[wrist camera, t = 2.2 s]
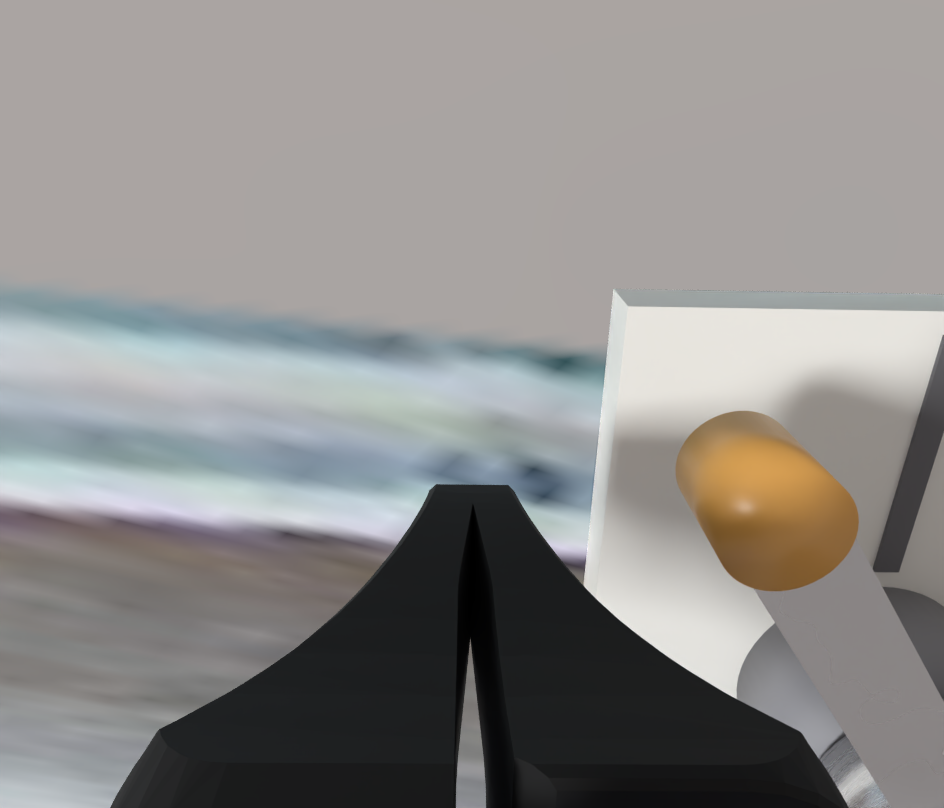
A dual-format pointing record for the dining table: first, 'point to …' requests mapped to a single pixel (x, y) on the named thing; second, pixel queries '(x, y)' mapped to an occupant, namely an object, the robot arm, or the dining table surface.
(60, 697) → the dining table surface
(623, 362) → the board
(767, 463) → the lever with orange knob
